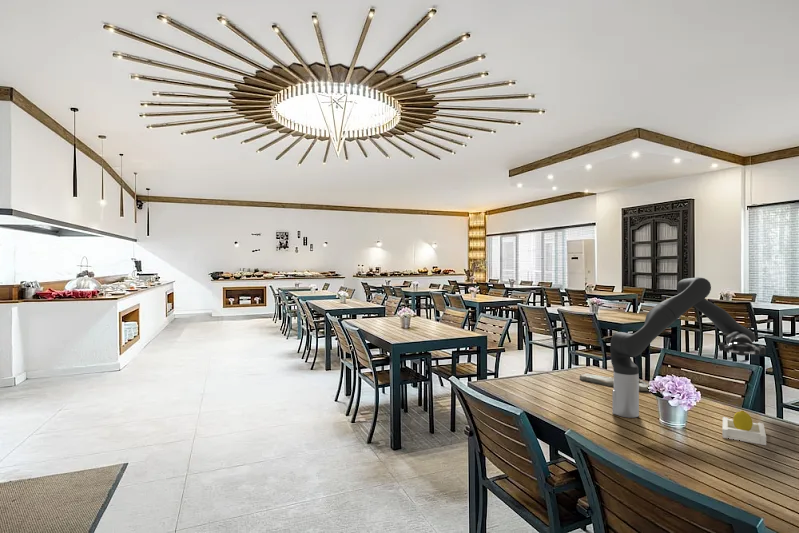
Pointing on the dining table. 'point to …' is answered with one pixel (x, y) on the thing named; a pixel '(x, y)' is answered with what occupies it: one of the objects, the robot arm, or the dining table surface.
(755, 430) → the tray
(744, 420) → the lemon
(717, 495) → the dining table surface
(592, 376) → the elongated rock
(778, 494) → the dining table surface
